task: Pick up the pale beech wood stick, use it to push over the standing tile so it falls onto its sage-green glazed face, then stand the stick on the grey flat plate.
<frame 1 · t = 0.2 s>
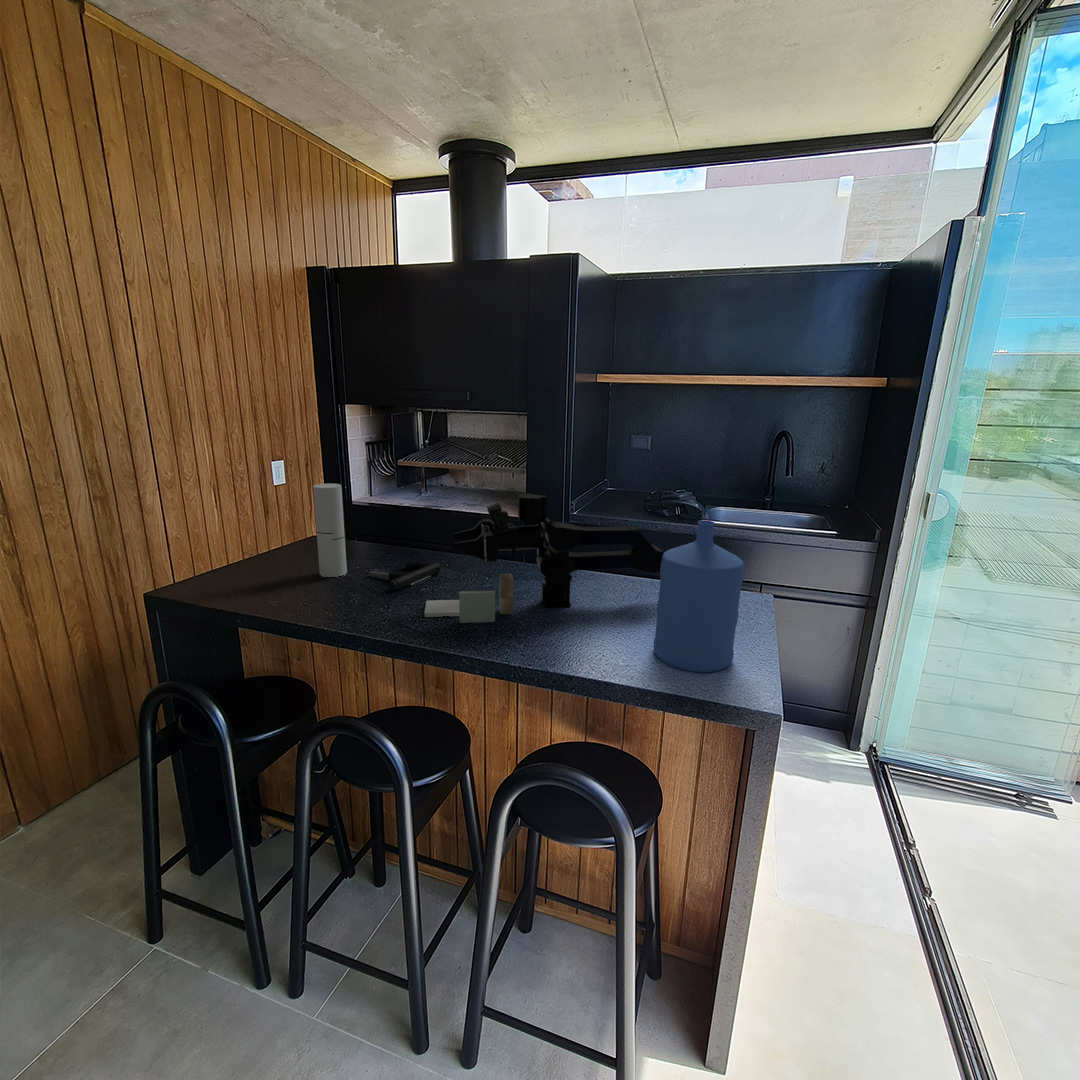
hand: (453, 540, 134), 16 cm above the countertop, tool horizontal, fingers open, 9 cm apart
tile: (477, 621, 129), on the countertop
grey flat plate: (446, 610, 135), on the countertop
water jug: (692, 656, 115), on the countertop
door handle: (401, 579, 157), on the countertop
stick: (505, 611, 135), on the countertop
cylindrical container: (333, 574, 158), on the countertop
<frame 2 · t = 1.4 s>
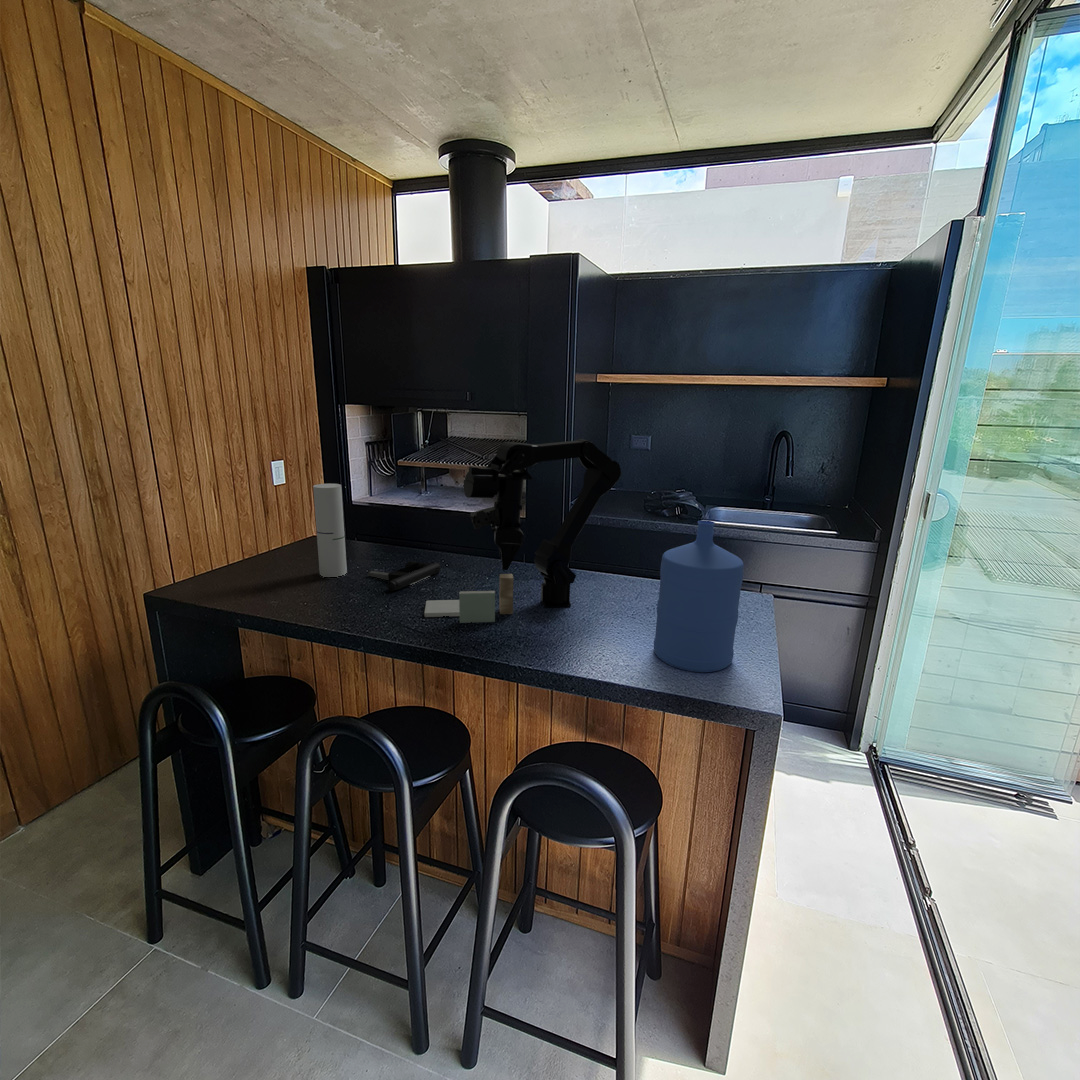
hand: (503, 564, 132), 12 cm above the countertop, tool pointing down, fingers open, 9 cm apart
nothing on the countertop moved.
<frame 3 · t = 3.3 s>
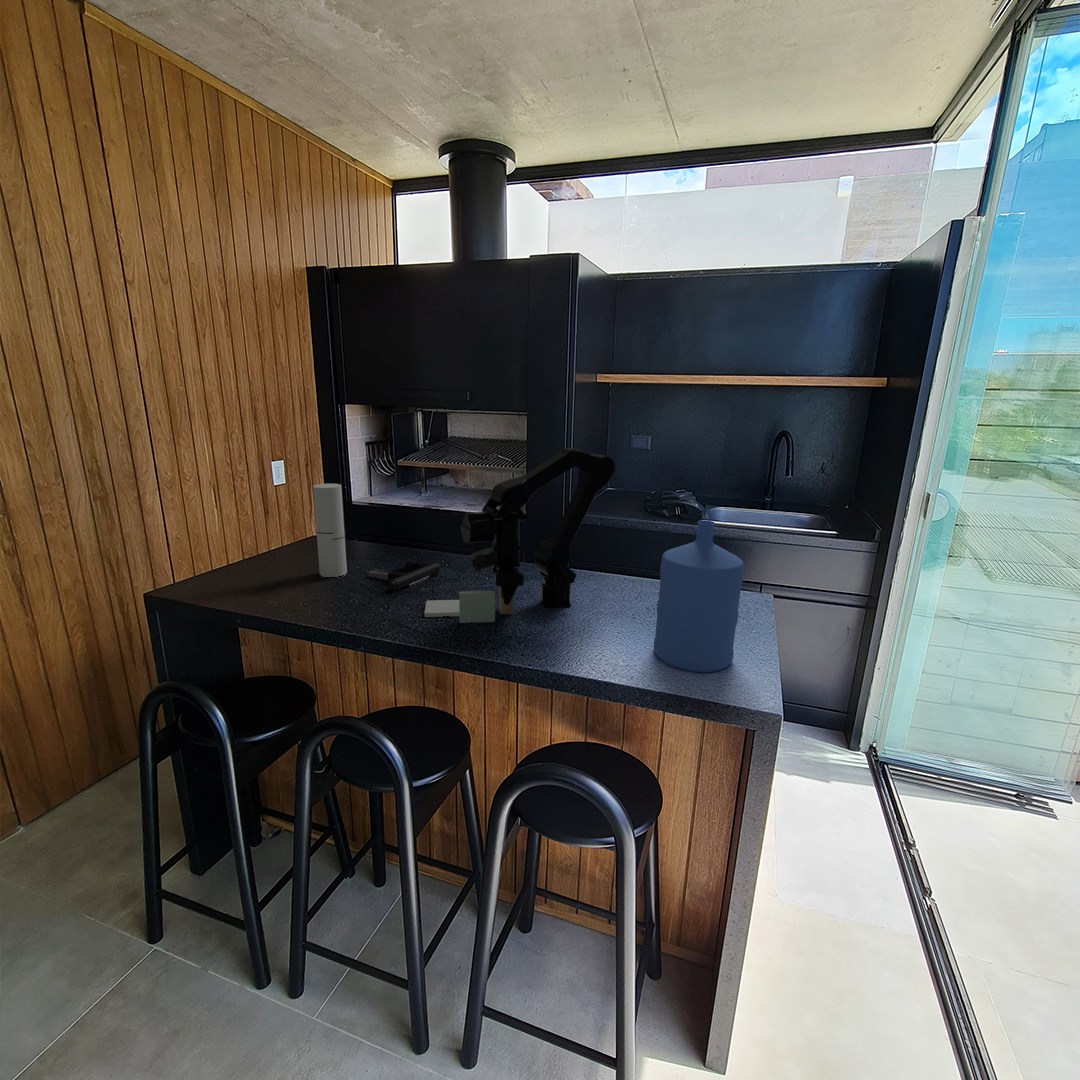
hand: (506, 601, 134), 3 cm above the countertop, tool pointing down, fingers closed on stick, 3 cm apart
stick: (505, 611, 135), on the countertop, touching gripper
everything else where it was.
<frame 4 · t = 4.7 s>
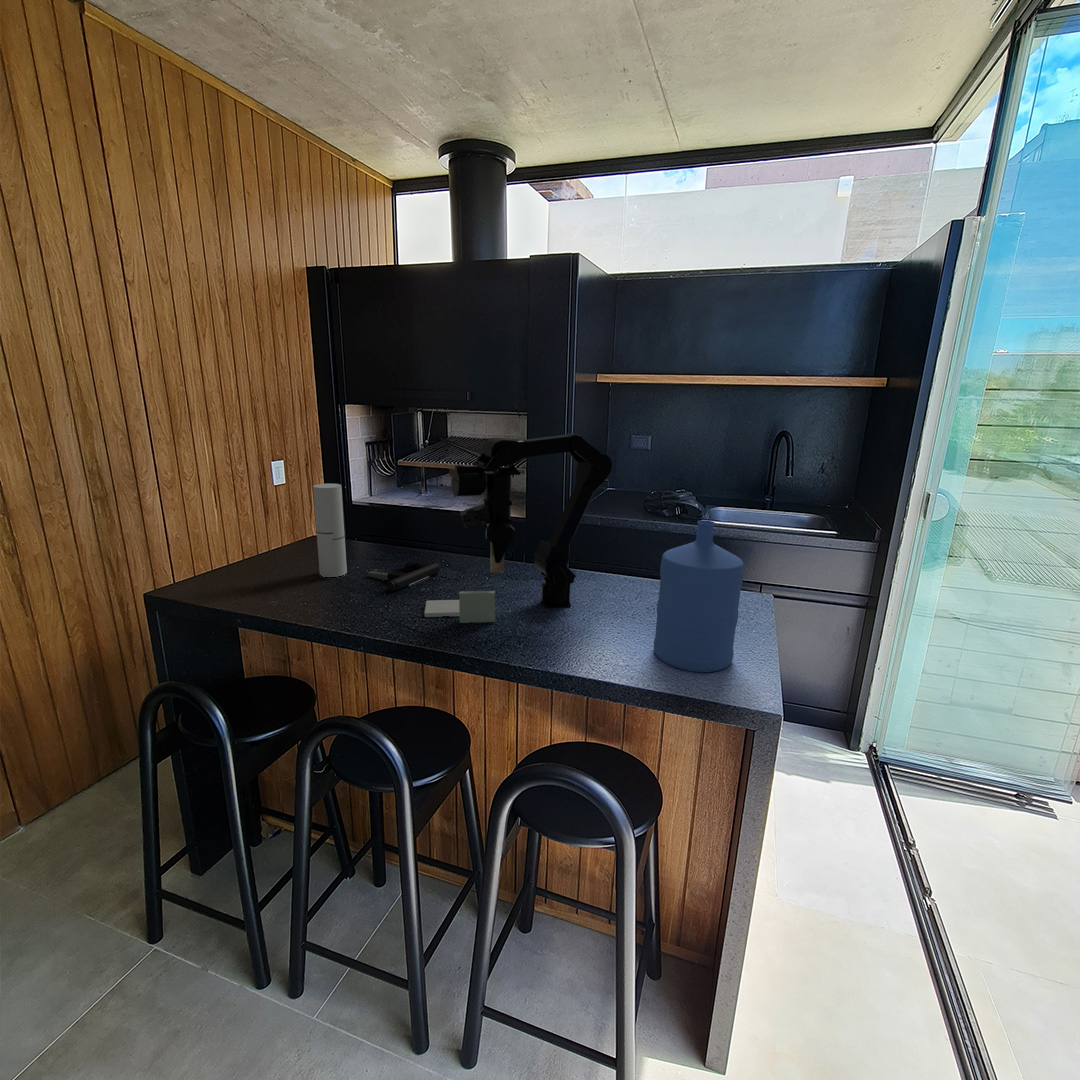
hand: (497, 560, 132), 13 cm above the countertop, tool pointing down, fingers closed on stick, 3 cm apart
stick: (497, 570, 132), point 10 cm above the countertop, touching gripper
everything else where it was.
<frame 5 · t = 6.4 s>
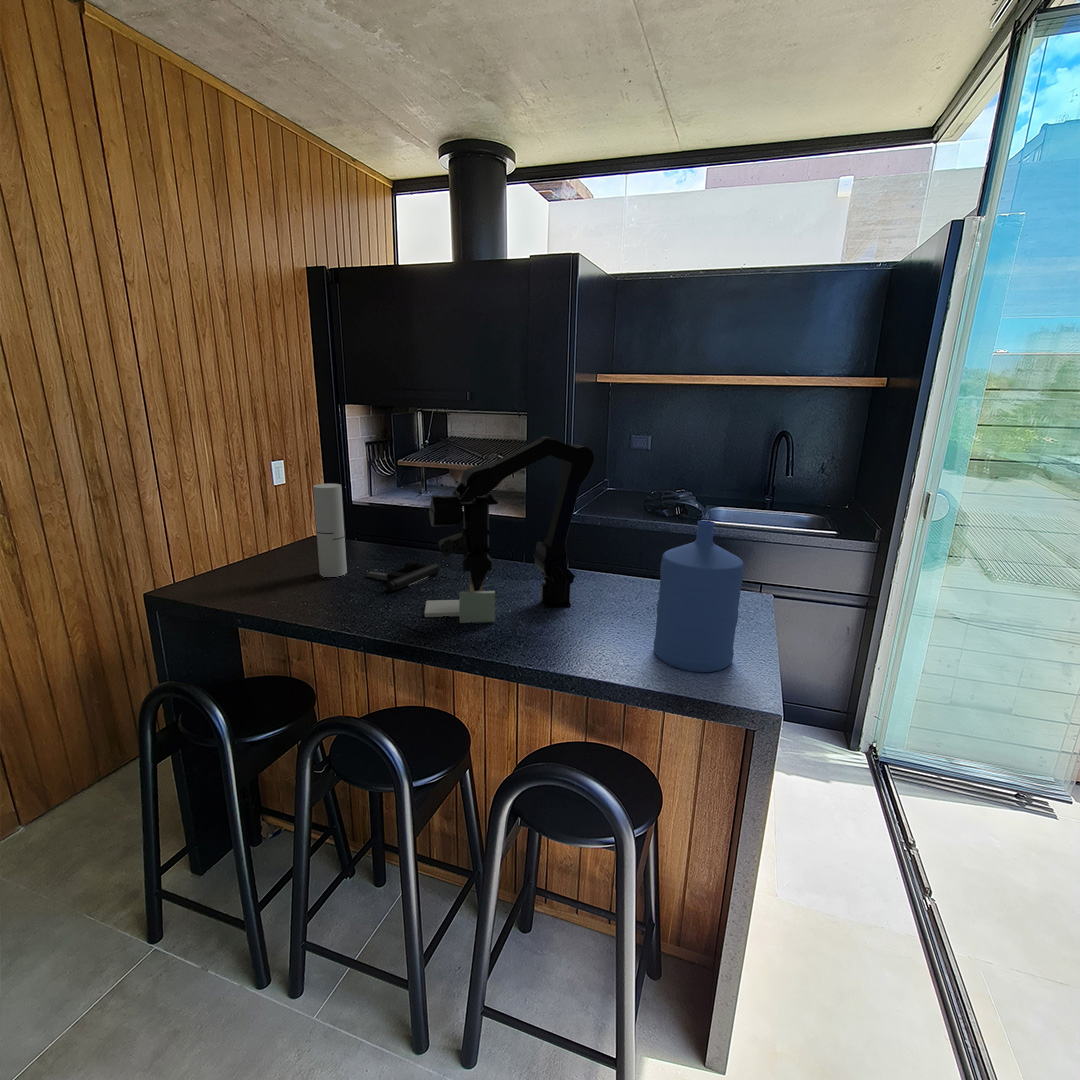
hand: (476, 588, 133), 6 cm above the countertop, tool pointing down, fingers closed on stick, 3 cm apart
stick: (476, 598, 133), point 3 cm above the countertop, touching gripper
everything else where it was.
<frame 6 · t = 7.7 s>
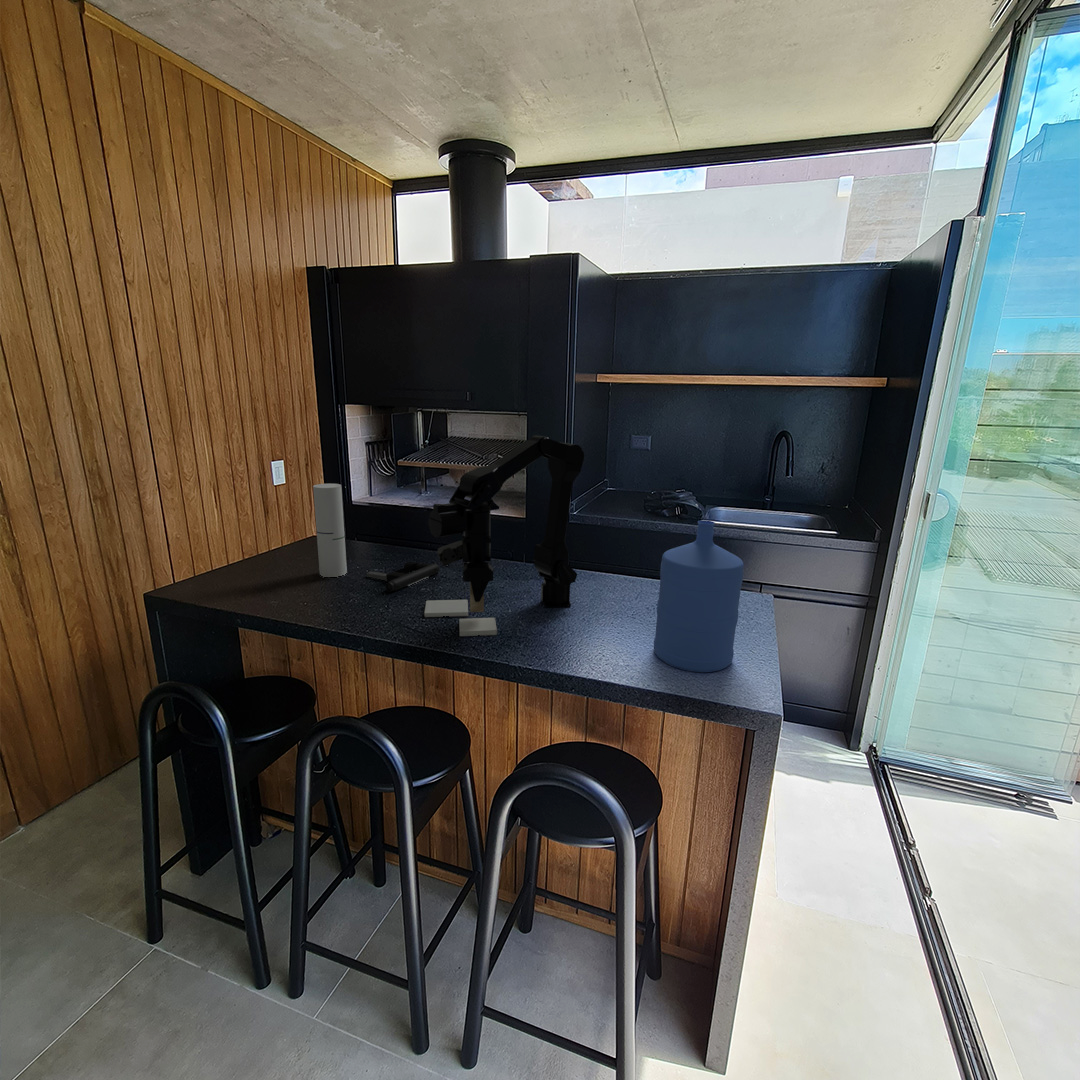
hand: (477, 598, 126), 6 cm above the countertop, tool pointing down, fingers closed on stick, 3 cm apart
tile: (477, 621, 128), on the countertop, tilted 90°
stick: (476, 609, 127), point 4 cm above the countertop, touching gripper
everything else where it was.
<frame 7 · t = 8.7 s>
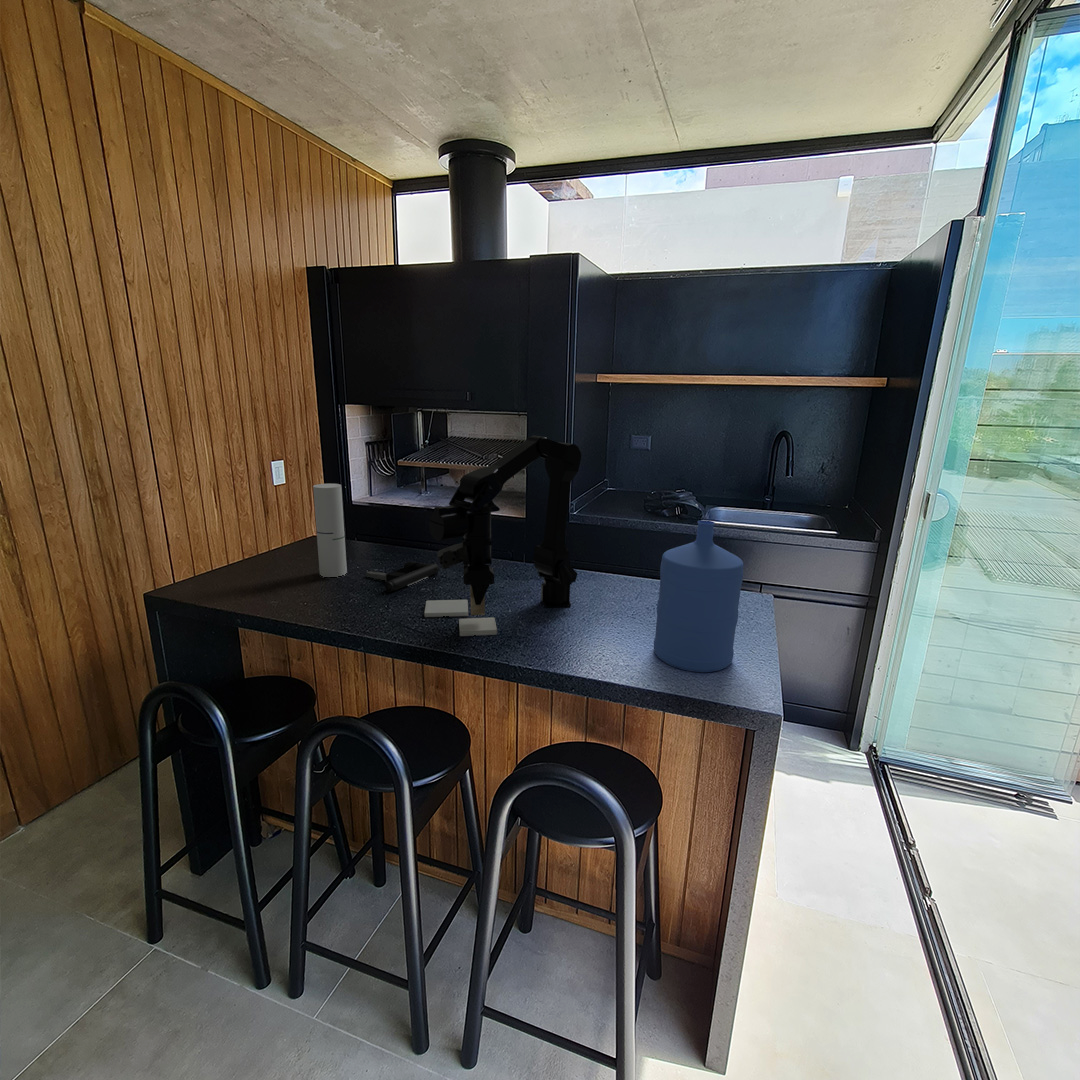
hand: (477, 601, 124), 6 cm above the countertop, tool pointing down, fingers closed on stick, 3 cm apart
stick: (477, 612, 125), point 3 cm above the countertop, touching gripper
everything else where it was.
when the fingers open (4 cm above the countertop, at t = 12.4 s): stick stays where it is, resting on grey flat plate.
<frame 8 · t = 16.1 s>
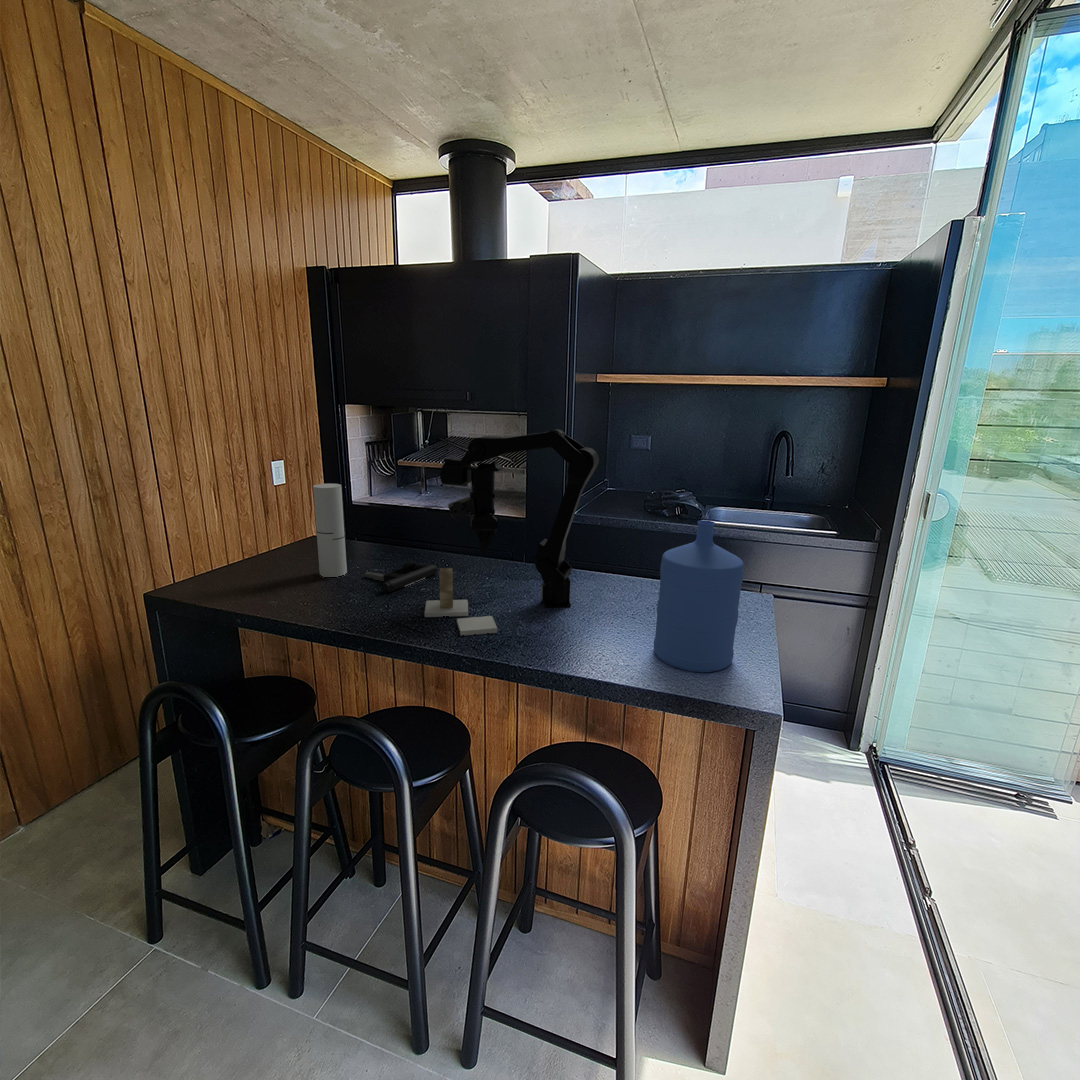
hand: (482, 548, 144), 12 cm above the countertop, tool pointing down, fingers open, 9 cm apart
stick: (446, 606, 135), point 1 cm above the countertop, touching grey flat plate
at the end: tile 2.9 cm from the target spot, on the countertop; tile tilted 90°; stick 0.0 cm off-centre on the grey flat plate, point 1.0 cm above the grey flat plate's base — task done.
